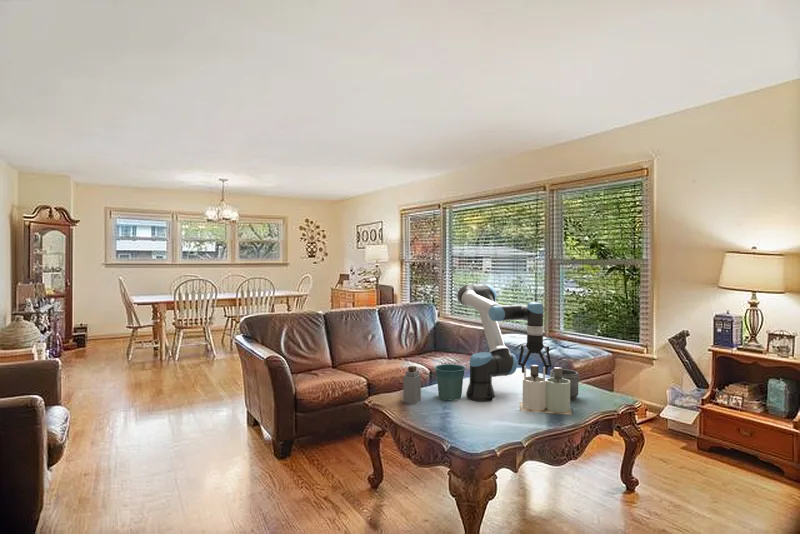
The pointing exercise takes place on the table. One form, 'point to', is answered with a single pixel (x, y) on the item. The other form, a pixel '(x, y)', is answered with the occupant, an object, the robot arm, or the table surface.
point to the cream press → (534, 394)
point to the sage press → (558, 393)
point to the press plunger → (534, 372)
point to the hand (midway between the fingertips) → (534, 380)
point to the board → (542, 410)
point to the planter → (573, 379)
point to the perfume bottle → (412, 386)
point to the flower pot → (450, 381)
